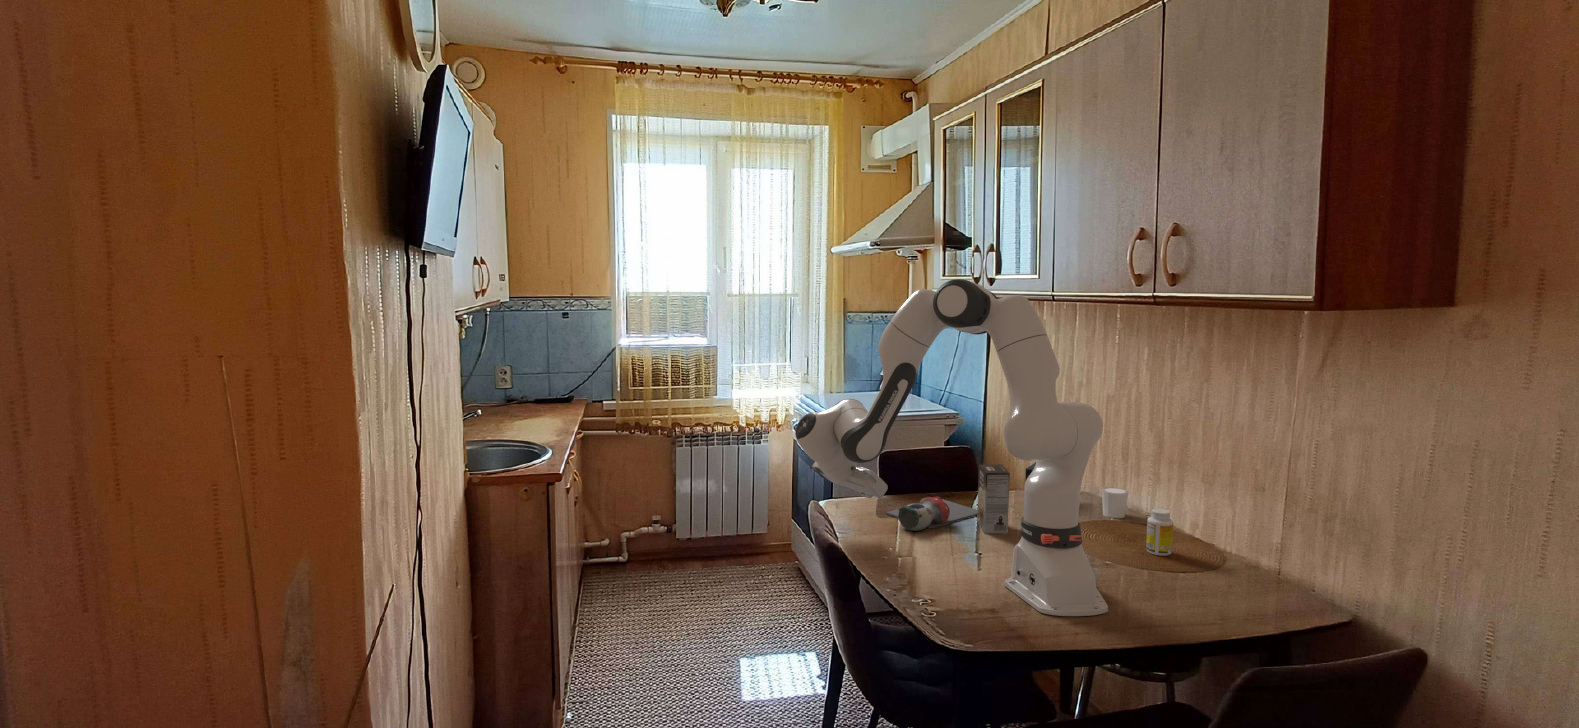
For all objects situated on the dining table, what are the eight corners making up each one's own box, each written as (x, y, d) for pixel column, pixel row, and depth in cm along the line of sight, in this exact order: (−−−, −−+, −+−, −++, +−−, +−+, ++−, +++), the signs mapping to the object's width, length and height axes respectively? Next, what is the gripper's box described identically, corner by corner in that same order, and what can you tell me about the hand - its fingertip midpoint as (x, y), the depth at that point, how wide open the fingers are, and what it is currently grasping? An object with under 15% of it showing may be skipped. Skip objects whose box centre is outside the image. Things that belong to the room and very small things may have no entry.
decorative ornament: (893, 502, 202) (936, 490, 210) (894, 526, 203) (937, 513, 211) (916, 511, 195) (960, 498, 202) (918, 536, 195) (961, 522, 203)
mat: (928, 529, 200) (928, 527, 200) (885, 514, 213) (886, 512, 213) (983, 513, 214) (983, 511, 214) (940, 500, 226) (940, 498, 226)
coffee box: (976, 522, 206) (977, 463, 204) (1000, 522, 206) (1001, 463, 204) (984, 533, 197) (985, 472, 195) (1009, 533, 197) (1011, 472, 195)
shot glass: (1128, 513, 213) (1130, 489, 213) (1125, 520, 208) (1126, 495, 207) (1102, 510, 217) (1103, 485, 216) (1098, 516, 211) (1099, 491, 210)
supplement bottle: (1174, 552, 184) (1177, 510, 182) (1167, 558, 179) (1170, 515, 178) (1150, 546, 187) (1152, 505, 186) (1142, 552, 183) (1144, 511, 182)
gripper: (875, 461, 183) (903, 494, 190) (821, 446, 200) (849, 477, 207) (861, 483, 181) (890, 515, 188) (807, 465, 198) (836, 496, 205)
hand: (868, 495), depth 198 cm, fingers closed
